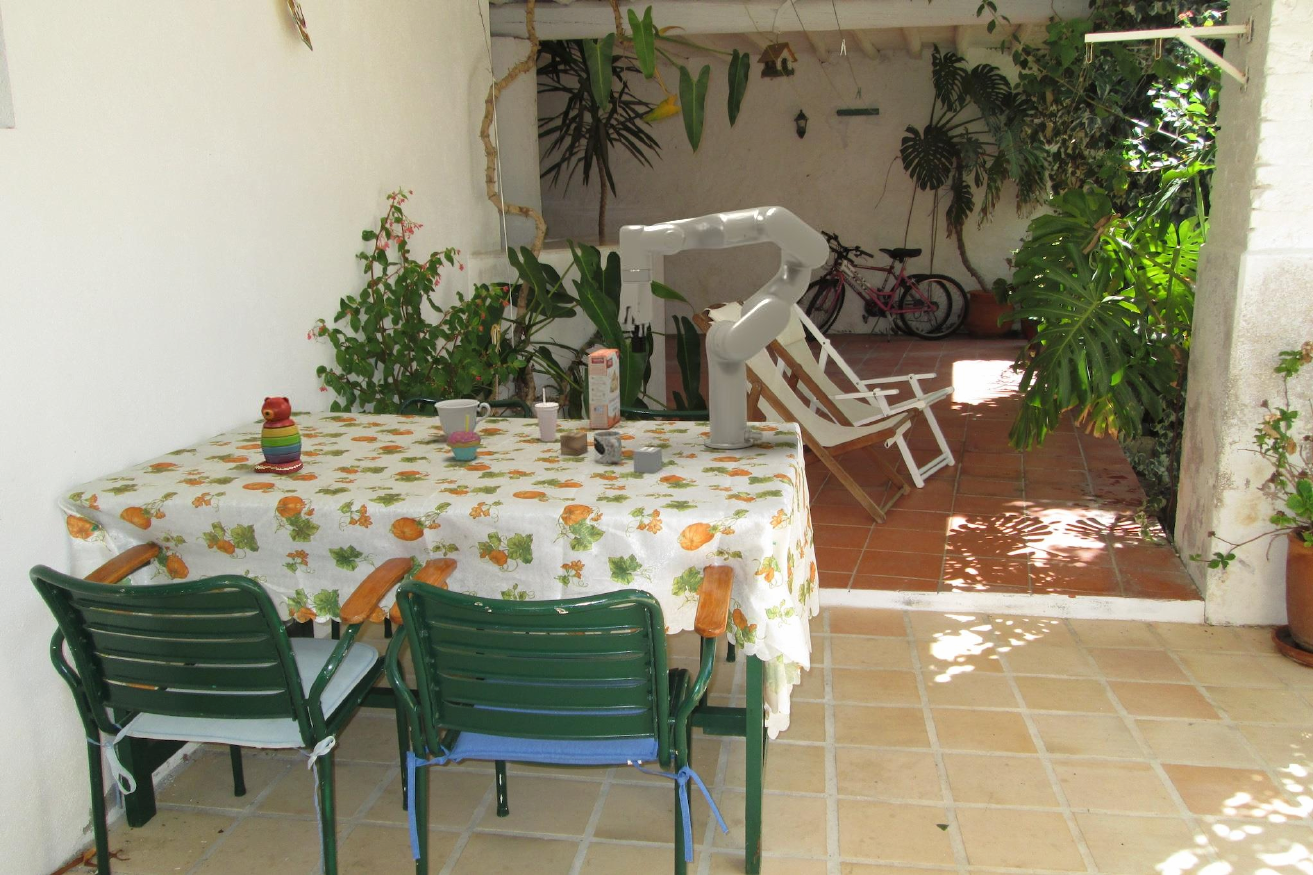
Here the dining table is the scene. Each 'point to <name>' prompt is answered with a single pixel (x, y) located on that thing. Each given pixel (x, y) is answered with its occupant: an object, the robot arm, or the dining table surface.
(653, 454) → the slate number block
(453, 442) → the cupcake
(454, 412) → the teacup
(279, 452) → the stacking bear
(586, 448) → the walnut number block
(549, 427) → the smoothie
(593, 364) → the cracker box
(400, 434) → the dining table surface
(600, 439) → the mug
